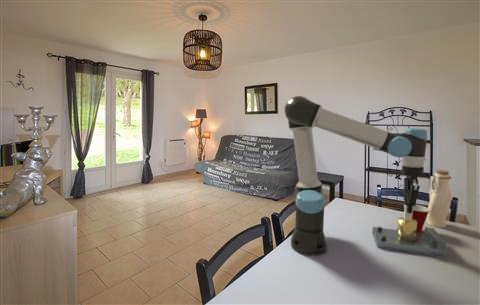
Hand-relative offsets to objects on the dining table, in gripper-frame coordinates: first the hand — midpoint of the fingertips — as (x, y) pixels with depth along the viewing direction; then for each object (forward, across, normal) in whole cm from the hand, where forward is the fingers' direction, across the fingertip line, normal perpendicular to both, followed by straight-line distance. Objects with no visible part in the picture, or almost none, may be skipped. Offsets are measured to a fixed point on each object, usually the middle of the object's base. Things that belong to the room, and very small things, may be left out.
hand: (407, 219), depth 110 cm
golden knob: (+11, 0, 0) cm, 11 cm away
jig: (+12, 0, 0) cm, 12 cm away
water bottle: (+12, +27, -20) cm, 36 cm away
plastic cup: (+12, +17, -8) cm, 22 cm away
